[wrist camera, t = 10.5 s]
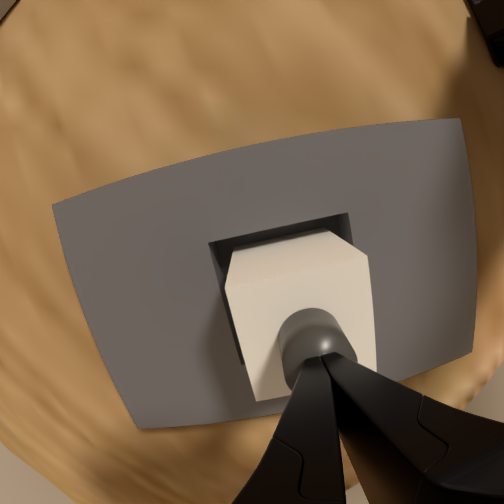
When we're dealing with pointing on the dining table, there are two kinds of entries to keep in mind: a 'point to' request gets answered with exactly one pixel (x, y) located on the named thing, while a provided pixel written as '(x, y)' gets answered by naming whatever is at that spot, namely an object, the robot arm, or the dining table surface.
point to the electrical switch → (5, 6)
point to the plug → (299, 306)
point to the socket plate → (263, 228)
